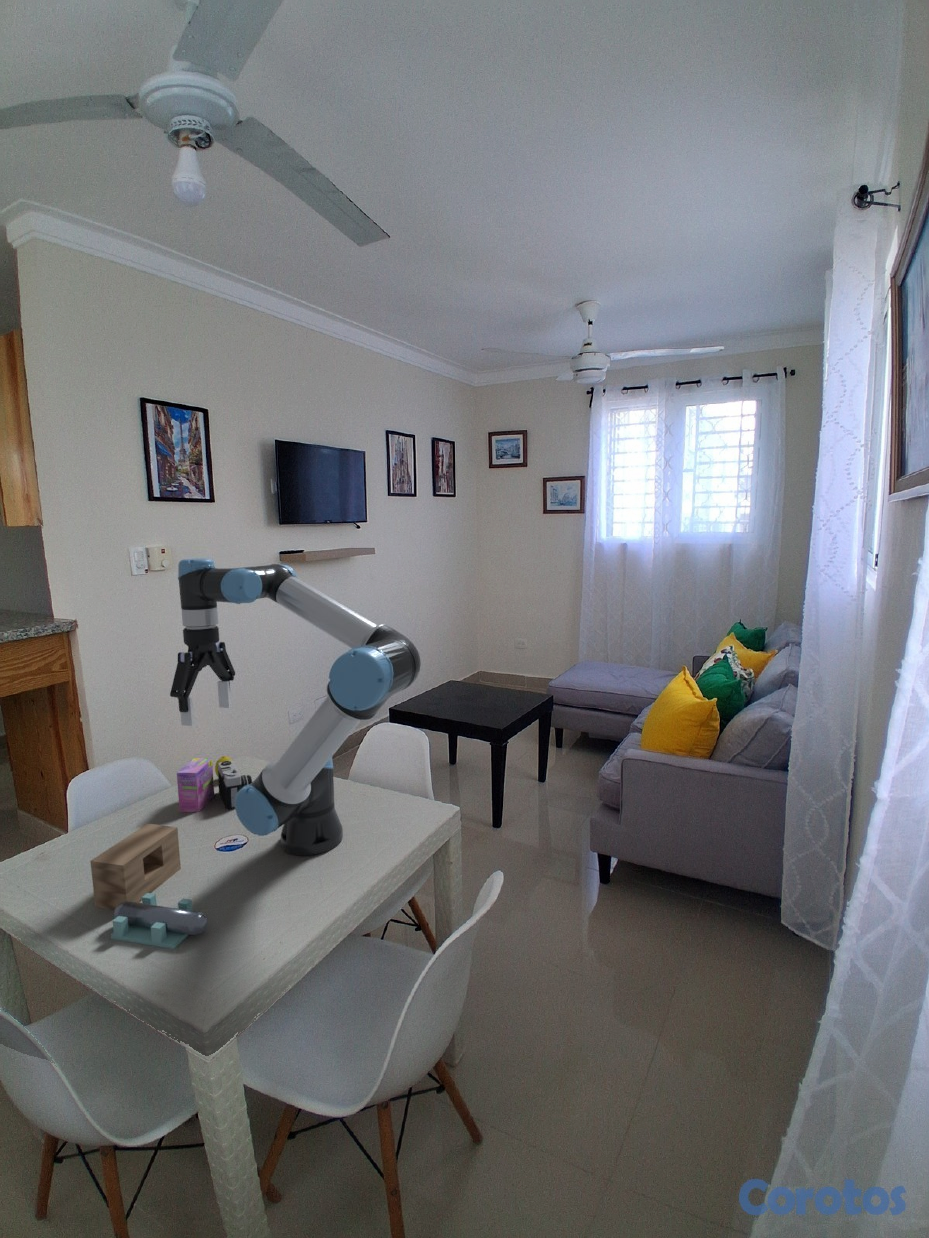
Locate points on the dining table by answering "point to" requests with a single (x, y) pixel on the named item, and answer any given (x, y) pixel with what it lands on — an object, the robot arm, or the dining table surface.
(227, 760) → the lemon
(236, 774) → the camera
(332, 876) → the dining table surface
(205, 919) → the axle
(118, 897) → the beam
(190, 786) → the box
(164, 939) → the cradle
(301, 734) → the robot arm
